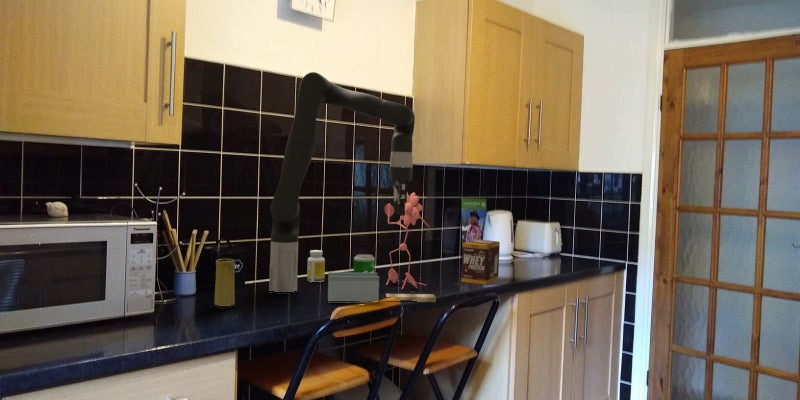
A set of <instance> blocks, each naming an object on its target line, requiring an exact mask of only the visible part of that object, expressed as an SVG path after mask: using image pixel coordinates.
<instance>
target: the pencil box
mask: <svg viewBox="0 0 800 400" xmlns="http://www.w3.org/2000/svg"><path fill="white" fill-rule="evenodd" d="M327 280H328V281H327V282H328V285H327V287H328V288H327V301H328V303H330V302H329V301H358V302H357V303H369V302H368V301H374V300H378V301H379V297H380V296H379V295H380V292H379V291H380V276H379V275H378V272H374V273H354V272H328V278H327ZM359 301H360V302H359Z"/></svg>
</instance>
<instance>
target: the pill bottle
mask: <svg viewBox="0 0 800 400" xmlns="http://www.w3.org/2000/svg"><path fill="white" fill-rule="evenodd" d="M309 255H310V257H308V258H307V271H306V272H307V273H306V274H307V275H306V276H307V277H306V278H307V279H306V280H307V282H308V281H309V283H312V282H319V283H323V282H325V274H326V272H325V271H326V270H325V268H326V267H325V266H326V261H325V260H326V259H325V257H323V250H321V249H320V250H318V249H313V250H312V249H311V250H310V251H309Z"/></svg>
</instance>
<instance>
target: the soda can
mask: <svg viewBox="0 0 800 400" xmlns="http://www.w3.org/2000/svg"><path fill="white" fill-rule="evenodd" d="M375 262H376V258H375V257H374V256H373V255H372V254H369V253H368V254H365V253H364V254H363V253H362V254H356V256H354V257H353V273H376V272H375V269H376V267H375V266H376V263H375Z"/></svg>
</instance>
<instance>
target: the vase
mask: <svg viewBox="0 0 800 400" xmlns="http://www.w3.org/2000/svg"><path fill="white" fill-rule="evenodd" d="M215 265H216V270H215V285H214V287H215V288H214V289H215V290H214V304H215V305H218V306H231V305H234V304H235V305H236V302H235V301H236V297H235V296H236V294H235V287H236V286H235V259H232V258H220V259H216V260H215Z"/></svg>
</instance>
